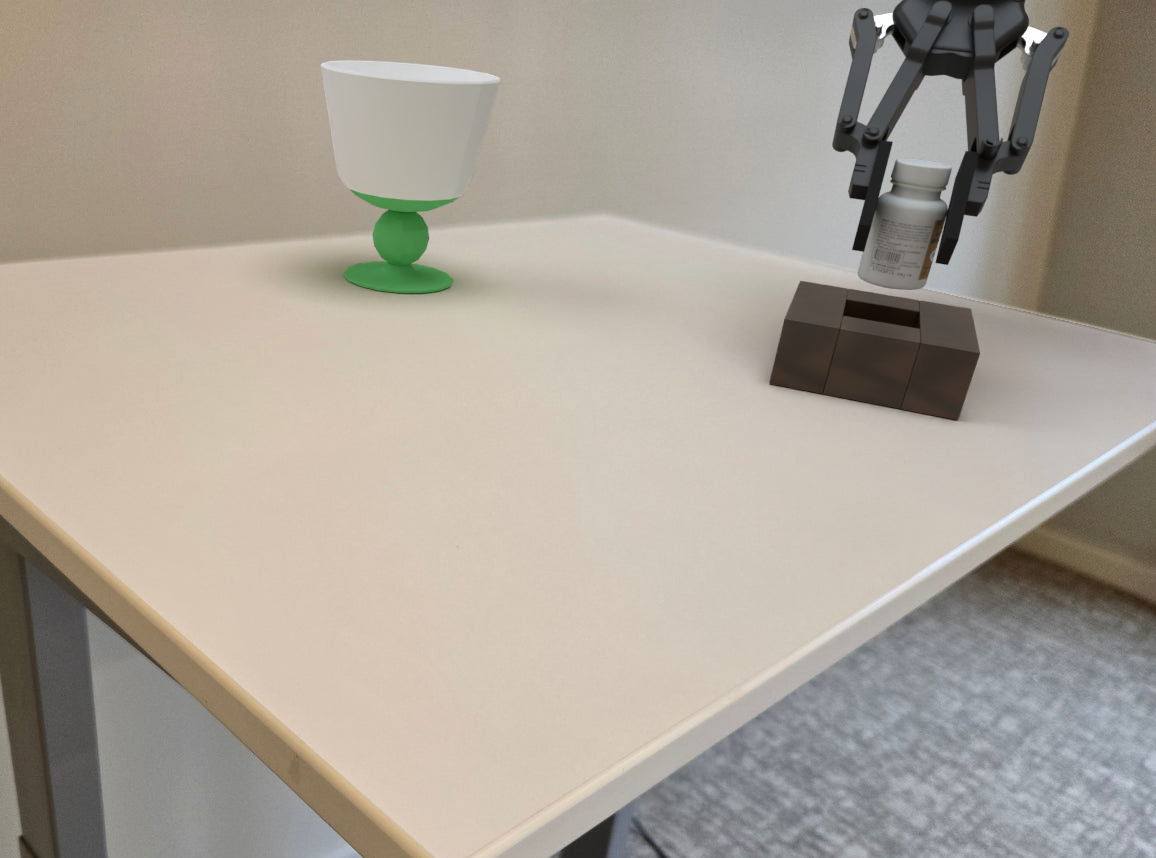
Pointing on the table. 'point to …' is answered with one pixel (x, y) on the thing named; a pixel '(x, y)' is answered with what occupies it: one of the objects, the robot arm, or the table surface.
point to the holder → (877, 349)
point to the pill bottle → (906, 226)
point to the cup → (405, 154)
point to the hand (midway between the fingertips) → (903, 244)
